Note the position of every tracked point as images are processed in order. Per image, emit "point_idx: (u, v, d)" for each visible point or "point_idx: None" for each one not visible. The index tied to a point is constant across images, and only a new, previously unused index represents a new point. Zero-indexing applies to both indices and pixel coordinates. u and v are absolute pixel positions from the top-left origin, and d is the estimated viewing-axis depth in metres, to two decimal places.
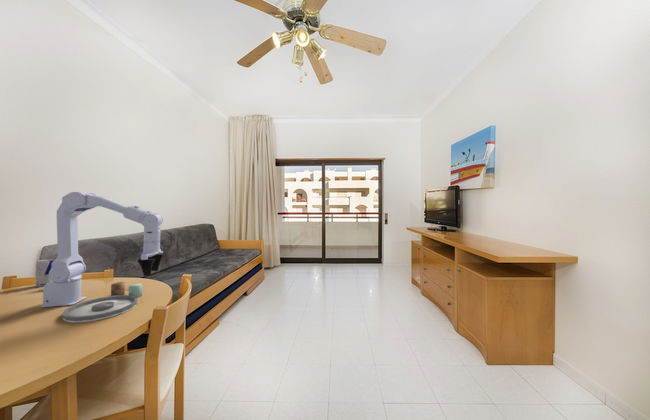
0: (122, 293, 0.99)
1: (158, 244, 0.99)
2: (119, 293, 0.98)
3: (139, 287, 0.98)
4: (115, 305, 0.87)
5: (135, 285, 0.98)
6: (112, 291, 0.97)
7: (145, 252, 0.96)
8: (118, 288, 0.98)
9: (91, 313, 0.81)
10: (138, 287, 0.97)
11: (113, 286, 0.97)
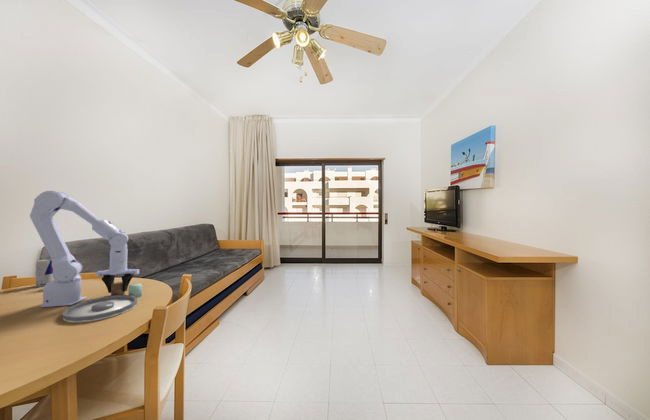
0: (122, 293, 0.99)
1: (112, 264, 0.97)
2: (119, 293, 0.98)
3: (139, 287, 0.98)
4: (115, 305, 0.87)
5: (135, 285, 0.98)
6: (112, 291, 0.97)
7: None
8: (118, 288, 0.98)
9: (91, 313, 0.81)
10: (138, 287, 0.97)
11: (113, 286, 0.97)
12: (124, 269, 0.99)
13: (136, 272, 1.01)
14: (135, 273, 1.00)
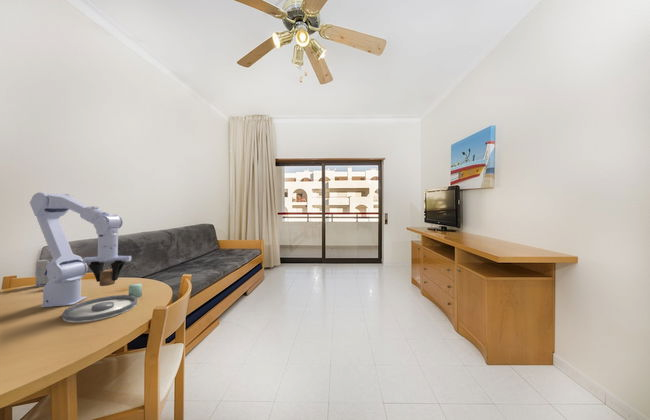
0: (112, 282, 0.89)
1: (101, 250, 0.87)
2: (109, 282, 0.88)
3: (139, 287, 0.98)
4: (115, 305, 0.87)
5: (135, 285, 0.98)
6: (101, 280, 0.87)
7: None
8: (107, 276, 0.88)
9: (91, 313, 0.81)
10: (138, 287, 0.97)
11: (102, 274, 0.87)
12: (114, 255, 0.89)
13: (128, 259, 0.91)
14: (127, 260, 0.91)
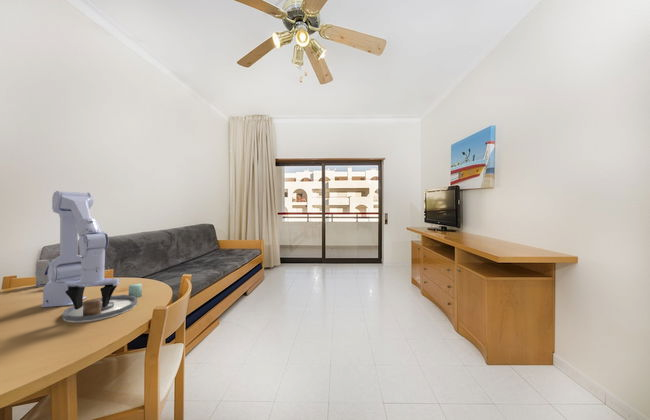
0: (97, 313, 0.79)
1: (84, 273, 0.77)
2: (93, 313, 0.78)
3: (139, 287, 0.98)
4: (115, 305, 0.87)
5: (135, 285, 0.98)
6: (84, 311, 0.77)
7: None
8: (92, 306, 0.78)
9: None
10: (138, 287, 0.97)
11: (85, 305, 0.77)
12: (100, 279, 0.79)
13: (115, 283, 0.80)
14: (114, 284, 0.80)
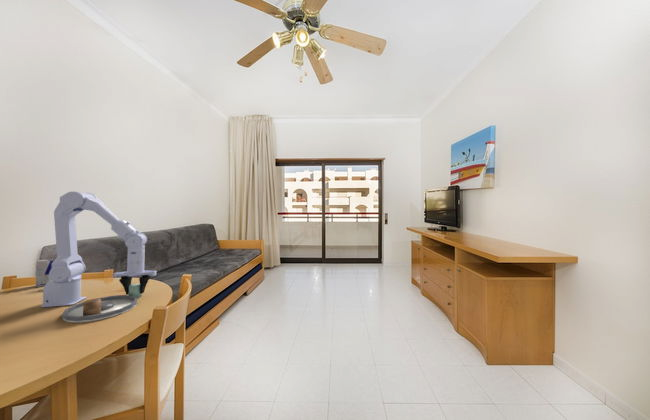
0: (97, 313, 0.79)
1: (130, 266, 0.95)
2: (93, 313, 0.78)
3: (139, 287, 0.98)
4: (115, 305, 0.87)
5: (135, 285, 0.98)
6: (84, 311, 0.77)
7: None
8: (92, 306, 0.78)
9: None
10: (138, 287, 0.97)
11: (85, 305, 0.77)
12: (142, 270, 0.98)
13: (153, 273, 0.99)
14: (152, 274, 0.99)
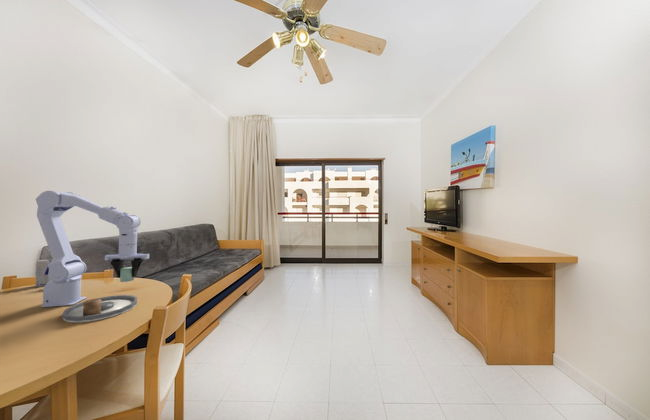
0: (98, 313, 0.79)
1: (122, 248, 0.92)
2: (93, 313, 0.78)
3: (131, 270, 0.95)
4: (115, 305, 0.87)
5: (127, 268, 0.95)
6: (84, 311, 0.77)
7: None
8: (92, 306, 0.78)
9: None
10: (130, 270, 0.94)
11: (86, 304, 0.77)
12: (134, 253, 0.95)
13: (146, 257, 0.96)
14: (145, 258, 0.96)
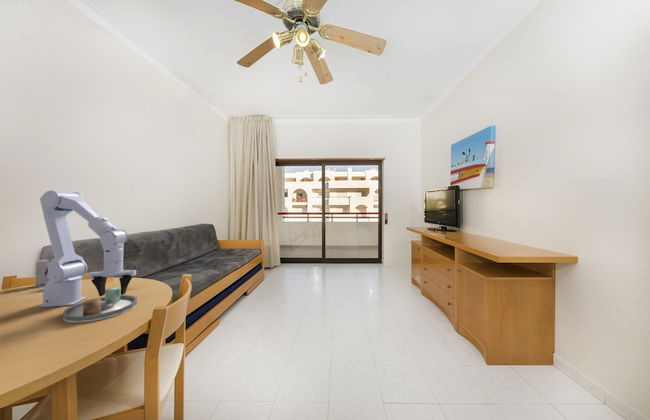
0: (98, 313, 0.79)
1: (107, 265, 0.88)
2: (93, 313, 0.78)
3: (117, 291, 0.90)
4: (115, 305, 0.87)
5: (112, 289, 0.90)
6: (84, 311, 0.77)
7: None
8: (92, 306, 0.78)
9: None
10: (116, 291, 0.90)
11: (85, 305, 0.77)
12: (120, 270, 0.91)
13: (133, 273, 0.92)
14: (132, 274, 0.92)
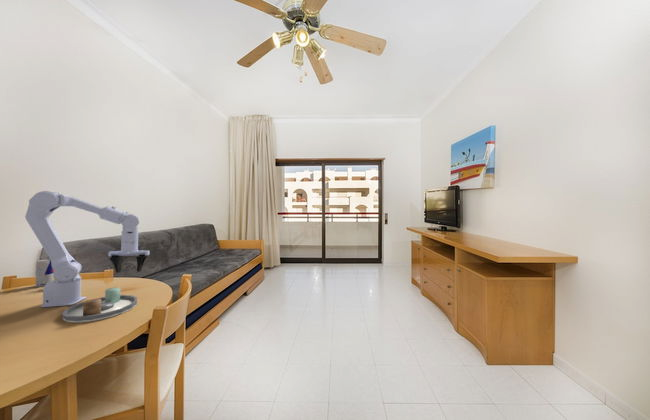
0: (98, 313, 0.79)
1: (124, 245, 0.99)
2: (93, 313, 0.78)
3: (117, 291, 0.90)
4: (115, 305, 0.87)
5: (112, 289, 0.90)
6: (84, 311, 0.77)
7: None
8: (92, 306, 0.78)
9: None
10: (116, 291, 0.90)
11: (85, 305, 0.77)
12: (135, 250, 1.02)
13: (147, 253, 1.03)
14: (146, 254, 1.03)
